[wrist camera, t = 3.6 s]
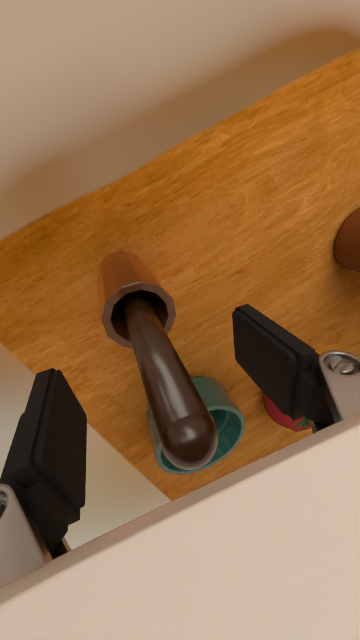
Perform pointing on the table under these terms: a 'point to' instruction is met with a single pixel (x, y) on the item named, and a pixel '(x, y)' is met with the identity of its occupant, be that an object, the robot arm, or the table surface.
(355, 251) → the mug
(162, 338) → the stick
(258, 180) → the table surface
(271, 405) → the tomato
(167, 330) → the crock
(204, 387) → the bowl
